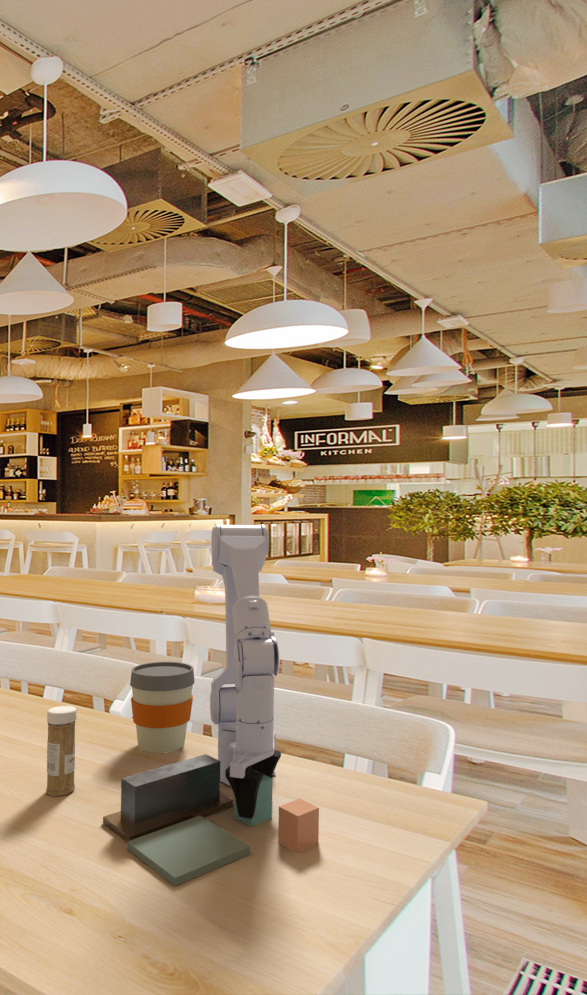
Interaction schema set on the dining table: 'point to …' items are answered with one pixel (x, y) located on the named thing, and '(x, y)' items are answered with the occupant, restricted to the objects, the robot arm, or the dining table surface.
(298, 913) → the dining table surface
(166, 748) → the reusable coffee cup
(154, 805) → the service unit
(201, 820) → the pad
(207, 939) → the dining table surface
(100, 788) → the dining table surface
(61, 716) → the spice jar
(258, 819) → the block
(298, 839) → the terracotta block
